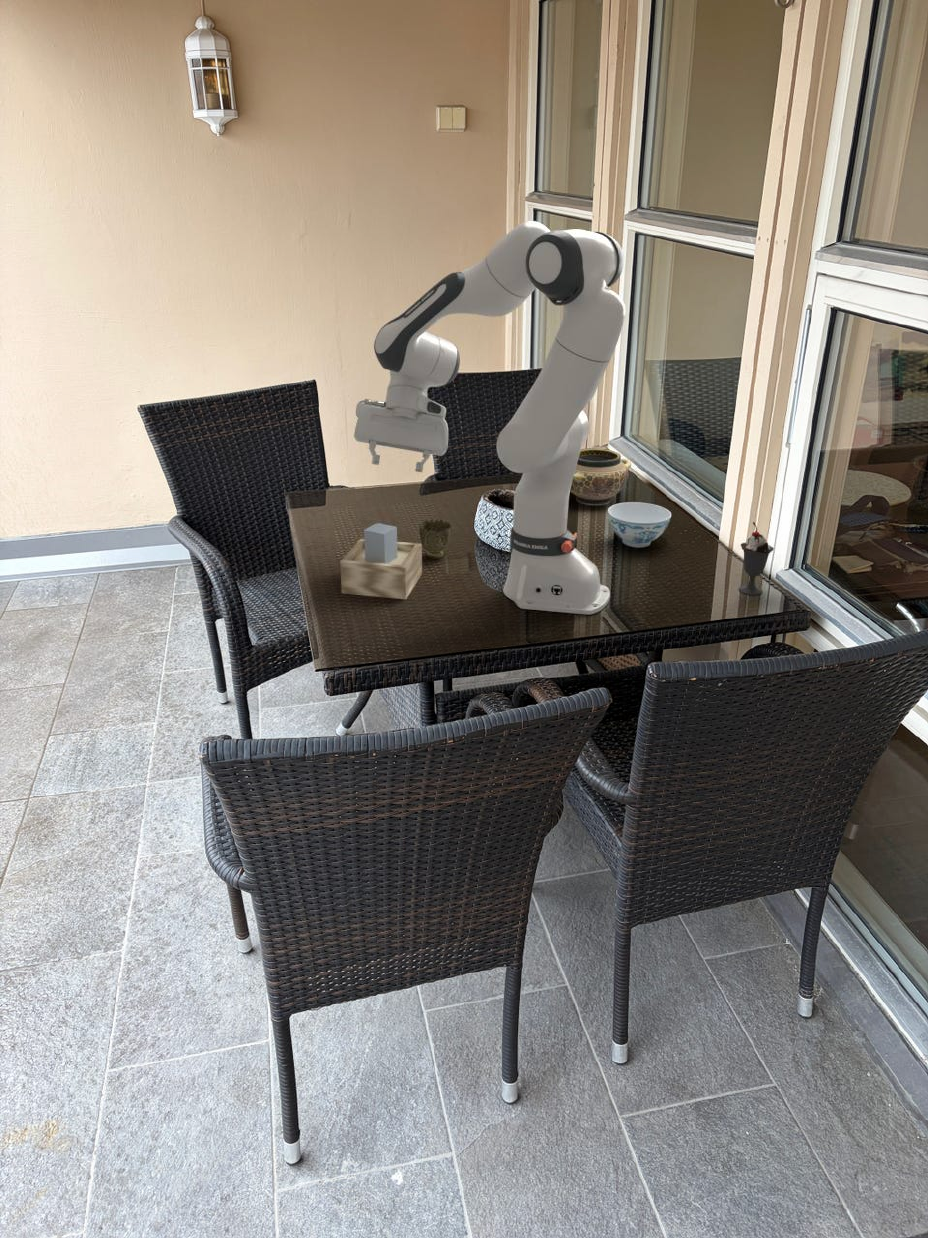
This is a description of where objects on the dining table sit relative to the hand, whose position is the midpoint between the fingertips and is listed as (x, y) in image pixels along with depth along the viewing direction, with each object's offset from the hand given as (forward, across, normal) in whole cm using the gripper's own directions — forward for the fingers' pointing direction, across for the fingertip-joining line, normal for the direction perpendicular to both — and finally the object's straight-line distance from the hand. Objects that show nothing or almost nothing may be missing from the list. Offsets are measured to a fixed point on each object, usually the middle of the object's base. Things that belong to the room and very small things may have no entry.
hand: (397, 467), depth 200 cm
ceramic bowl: (-13, +57, +45) cm, 74 cm away
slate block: (+20, -1, +2) cm, 20 cm away
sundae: (+17, +78, -10) cm, 80 cm away
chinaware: (+4, +61, +17) cm, 64 cm away
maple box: (+25, +1, +6) cm, 25 cm away
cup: (+15, +13, +17) cm, 26 cm away
